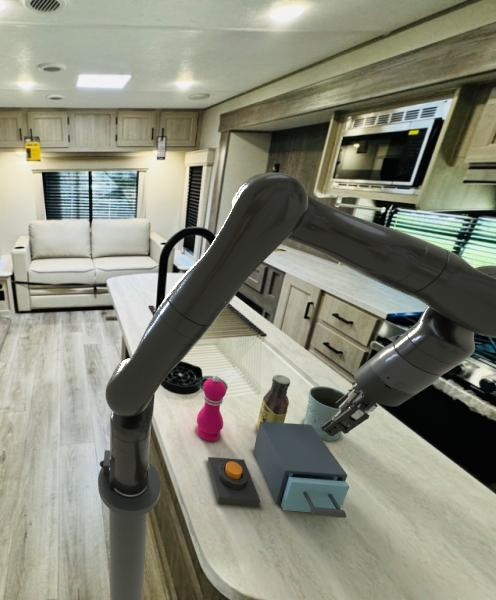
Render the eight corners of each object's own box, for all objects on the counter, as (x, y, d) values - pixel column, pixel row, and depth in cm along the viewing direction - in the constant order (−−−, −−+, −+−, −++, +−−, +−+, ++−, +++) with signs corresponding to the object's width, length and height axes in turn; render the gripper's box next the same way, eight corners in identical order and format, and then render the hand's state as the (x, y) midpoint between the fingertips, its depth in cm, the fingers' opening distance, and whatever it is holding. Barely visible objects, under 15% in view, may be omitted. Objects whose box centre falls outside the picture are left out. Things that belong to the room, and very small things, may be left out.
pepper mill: (196, 441, 89) (204, 383, 81) (194, 422, 95) (200, 367, 88) (223, 444, 87) (233, 385, 80) (218, 425, 94) (227, 369, 87)
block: (217, 503, 72) (219, 491, 70) (207, 463, 82) (208, 451, 80) (258, 507, 71) (261, 495, 69) (242, 465, 81) (245, 454, 79)
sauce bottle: (254, 424, 94) (266, 368, 87) (277, 428, 92) (291, 372, 85) (257, 440, 88) (270, 382, 81) (281, 445, 86) (297, 387, 79)
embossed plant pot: (342, 427, 92) (353, 394, 88) (342, 449, 85) (354, 415, 80) (302, 413, 98) (311, 381, 94) (298, 433, 90) (308, 400, 86)
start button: (227, 479, 74) (228, 473, 73) (223, 465, 77) (224, 460, 76) (243, 480, 73) (244, 474, 72) (238, 467, 76) (239, 461, 76)
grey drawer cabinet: (334, 508, 70) (347, 475, 66) (275, 503, 71) (285, 470, 67) (302, 455, 83) (311, 424, 80) (253, 451, 85) (259, 421, 81)
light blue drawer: (352, 538, 64) (365, 508, 60) (293, 532, 65) (302, 503, 62) (306, 462, 80) (314, 436, 77) (260, 459, 82) (266, 433, 78)
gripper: (381, 340, 58) (326, 387, 69) (360, 378, 50) (302, 425, 61) (429, 367, 54) (362, 413, 65) (414, 413, 46) (342, 457, 57)
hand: (333, 419), depth 63 cm, fingers open, 8 cm apart
